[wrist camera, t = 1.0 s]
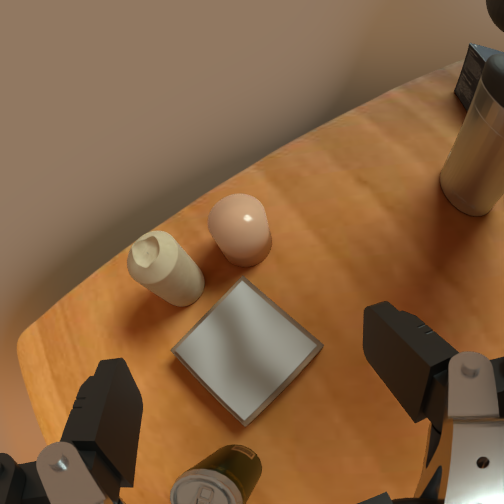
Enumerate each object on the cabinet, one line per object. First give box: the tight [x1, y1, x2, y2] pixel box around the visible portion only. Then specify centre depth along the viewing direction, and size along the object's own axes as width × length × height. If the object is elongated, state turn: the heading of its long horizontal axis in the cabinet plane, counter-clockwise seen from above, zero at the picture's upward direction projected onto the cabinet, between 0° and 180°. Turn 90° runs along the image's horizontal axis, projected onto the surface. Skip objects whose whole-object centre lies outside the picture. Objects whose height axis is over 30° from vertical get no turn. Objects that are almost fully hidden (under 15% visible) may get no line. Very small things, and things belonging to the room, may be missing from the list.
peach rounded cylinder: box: [208, 194, 272, 267], centre depth 34 cm, size 6×6×6 cm
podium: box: [171, 276, 324, 427], centre depth 30 cm, size 11×11×3 cm
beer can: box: [170, 445, 262, 504], centre depth 21 cm, size 5×5×12 cm
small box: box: [454, 43, 504, 112], centre depth 35 cm, size 13×7×12 cm, turn 91°
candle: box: [127, 231, 205, 307], centre depth 32 cm, size 6×6×10 cm
